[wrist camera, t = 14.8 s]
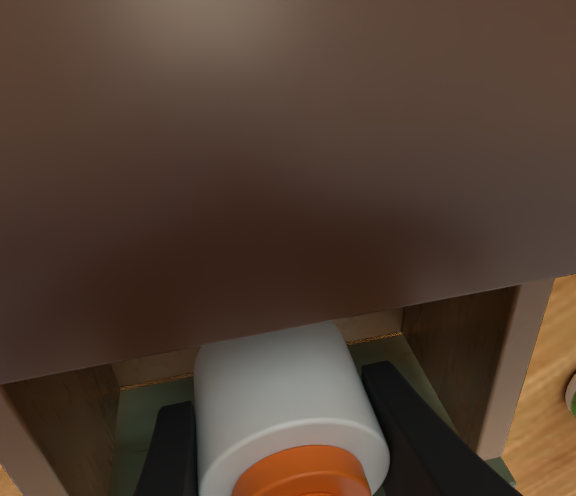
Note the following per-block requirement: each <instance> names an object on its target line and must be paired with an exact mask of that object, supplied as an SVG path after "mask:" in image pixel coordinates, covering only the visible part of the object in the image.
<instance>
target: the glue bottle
mask: <svg viewBox="0 0 576 496" xmlns="http://www.w3.org/2000/svg"><path fill="white" fill-rule="evenodd" d="M193 379H194V404H195V418H196V443H197V475H198V496H372V495H373V494H374V493H375V492H376V491H377V490H378V488H379V487H380V486H381V485H382V483H383V481H384V479H385V478H386V475H387V473H388V470H389V465H390V451H389V448H388V444H387V442H386V440H385V437H384V435H383V432H382V430H381V427H380V425H379V422H378V420H377V418H376V415H375V413H374V410H373V408H372V405H371V403H370V401H369V398H368V396H367V393H366V391H365V388H364V386H363V383H362V381H361V379H360V376H359V374H358V371H357V369H356V366H355V364H354V361H353V359H352V357H351V354H350V352H349V349H348V347H347V344H346V342H345V339H344V337H343V335H342V333H341V331H340V330H339V329H338V327H337V326H336V325H335V324H334V323H333V322H332V321H328V322H323V323H318V324H313V325H308V326H302V327H297V328H292V329H287V330H282V331H276V332H271V333H266V334H261V335H256V336H250V337H245V338H240V339H235V340H230V341H224V342H219V343H214V344H209V345H204V346H201V348H200V349H199V351H198V353H197V356H196V358H195V362H194V367H193Z"/></svg>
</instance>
